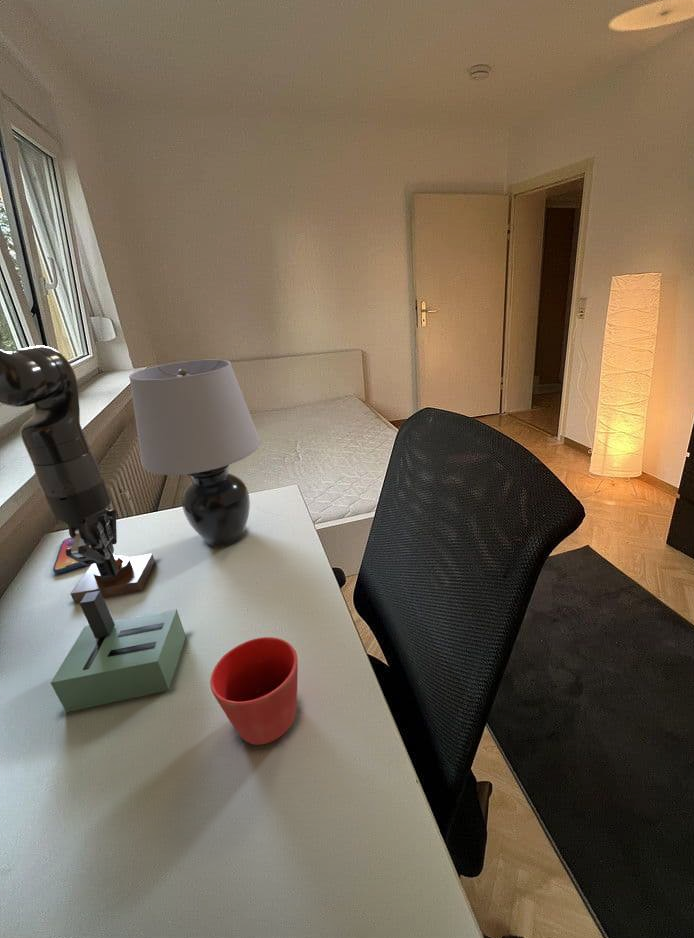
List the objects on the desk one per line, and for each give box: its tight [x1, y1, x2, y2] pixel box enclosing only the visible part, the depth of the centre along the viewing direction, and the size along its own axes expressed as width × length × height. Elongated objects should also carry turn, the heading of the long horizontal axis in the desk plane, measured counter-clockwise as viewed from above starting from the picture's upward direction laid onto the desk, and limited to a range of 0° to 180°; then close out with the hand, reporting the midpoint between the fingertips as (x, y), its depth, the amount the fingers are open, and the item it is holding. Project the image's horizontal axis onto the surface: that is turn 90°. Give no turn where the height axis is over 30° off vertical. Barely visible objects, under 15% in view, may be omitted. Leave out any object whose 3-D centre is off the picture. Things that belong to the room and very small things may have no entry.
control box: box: [70, 553, 156, 603], centre depth 91 cm, size 12×10×4 cm
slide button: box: [79, 591, 115, 638], centre depth 68 cm, size 2×2×7 cm
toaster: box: [50, 609, 187, 713], centre depth 69 cm, size 14×11×6 cm
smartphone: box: [52, 537, 86, 574], centre depth 102 cm, size 7×15×1 cm, turn 29°
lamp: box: [128, 358, 261, 547], centre depth 97 cm, size 24×24×40 cm
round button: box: [113, 554, 122, 567], centre depth 90 cm, size 4×4×2 cm
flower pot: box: [209, 636, 299, 746], centre depth 59 cm, size 11×11×10 cm
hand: (111, 575), depth 74 cm, fingers closed
